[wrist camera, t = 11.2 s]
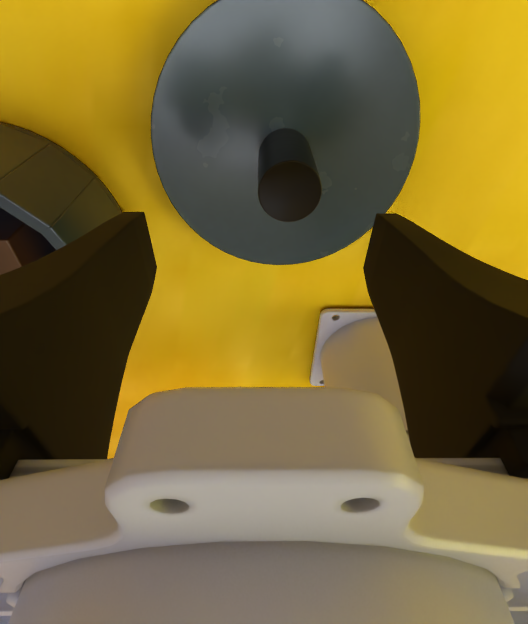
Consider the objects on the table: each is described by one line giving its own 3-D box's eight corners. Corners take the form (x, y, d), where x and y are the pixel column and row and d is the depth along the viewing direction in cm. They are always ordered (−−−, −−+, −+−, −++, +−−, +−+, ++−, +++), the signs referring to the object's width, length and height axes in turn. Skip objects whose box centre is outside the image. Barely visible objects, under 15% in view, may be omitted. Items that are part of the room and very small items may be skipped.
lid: (453, -19, 13) (530, -22, 10) (378, 255, 21) (404, 313, 18) (128, -26, 13) (74, -33, 9) (176, 253, 21) (158, 311, 17)
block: (48, 199, 18) (7, 240, 15) (74, 264, 21) (44, 309, 18) (-31, 198, 18) (-87, 239, 15) (5, 263, 21) (-37, 309, 18)
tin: (100, 120, 16) (48, 163, 12) (149, 306, 24) (126, 370, 20) (-150, 116, 16) (-286, 159, 12) (-22, 305, 24) (-79, 369, 20)
